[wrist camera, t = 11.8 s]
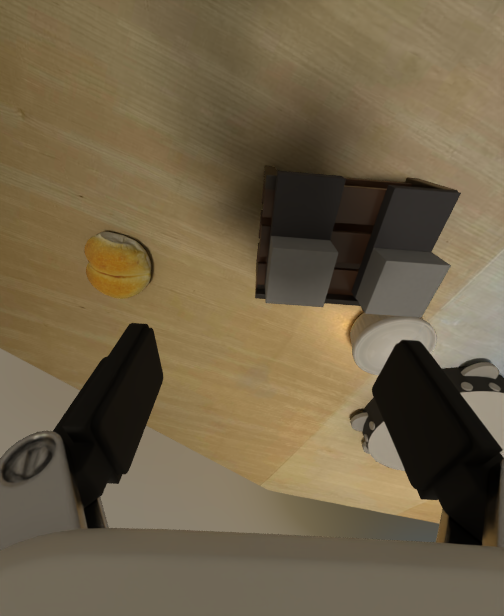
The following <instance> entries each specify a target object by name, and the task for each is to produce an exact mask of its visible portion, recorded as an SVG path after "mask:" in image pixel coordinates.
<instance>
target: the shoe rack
mask: <svg viewBox="0 0 504 616" xmlns="http://www.w3.org/2000/svg"><path fill="white" fill-rule="evenodd" d="M276 178H277V169H276V167H272V166H265V169H264V184H263V195H262V204H263V210H261V218H260V230H259V238H260V243H258V253H257V262H256V292H255V298H260V299H266V298H265V276H266V267H267V258H268V249H269V240H270V231H271V222H272V213H273V204H274V195H275V187H276ZM388 185H396V186H409V187H421V188H433V189H445V190H453V191H456V192H458V191H457V190H455V189H451V188H448V187H444V186H441V185H438V184H434V183H431V182H427V181H424V180H421V179H417V178H407V179H406V182H405V183H403V182H391V181H379V180H367V179H354V178H346V181H345V185H344V189H343V192H342V196H341V200H340V204H339V208H338V212H337V216H336V220H335V224H334V228H333V232H332V236H331V240H330V241H331V242H332V244H333V245H334V247H335V248H336V250H337V251H338V256H337V260H336V264H335V267H334V271H333V274H332V278H331V281H330V285H329V288H328V292H327V295H326V299H325V303H329V304H343V305H357V306H360V304H359V302H358V300H357V299H355V298H354V296H353V294H352V292H351V291H352V288H353V285H354V283H355V280H356V277H357V274H358V271H359V268H360V265H361V262H362V259H363V257H364V254H365V251H366V248H367V245H368V242H369V239H370V236H371V233H372V230H373V228H374V225H375V222H376V219H377V216H378V213H379V210H380V207H381V204H382V202H383V199H384V196H385V193H386V190H387V187H388Z"/></svg>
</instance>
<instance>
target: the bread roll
mask: <svg viewBox="0 0 504 616" xmlns="http://www.w3.org/2000/svg"><path fill="white" fill-rule="evenodd" d="M85 254H86V257H87V259H88V261H89V263H88V265H87V268H86V274H87V277H88V279H89V281H90V282H91V284H92V285H93V286H94V287H95V288H96V289H97V290H99V291H100V292H102V293H104V294H106V295H108V296H111V297H114V298H120V299H123V298H129V297H132V296H135V295H137V294H139V293H140V292H141V291H143V290H144V289H145V288H146V287H147V285H148V283H149V281H150V279H151V273H150V272H151V262H150V259H149V256H148V254H147V252H146V251H145V249H144V248H143V247H142V246H141V245H140V244H139V243H138V242H137V241H135V240H133V239H130V238H128V237H126V236H123V235H120V234H116V233H111V232H101V233H100V234H98V235H96V236H93V237H91V238H90V239H89V240H88V241H87V243H86V245H85Z"/></svg>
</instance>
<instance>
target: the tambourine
mask: <svg viewBox="0 0 504 616" xmlns="http://www.w3.org/2000/svg"><path fill="white" fill-rule="evenodd" d="M442 370H443V371H444V373H445V374H446V375H447V377H448V378H449V379H450V380H451V382H452V383H453V384H454V386H455V387H456V388H457V390H458V391H459V392H460V394H461V395H462V396H463V398H464V399H465V400H466V402H467V403H468V404H469V406H470V407H471V408H472V410H473V411H474V412H475V413H476V415H477V416H478V417H479V419H480V420H481V421H482V423H483V424H484V425H485V427H486V428H487V429H488V431H489V432H490V433H491V435H492V436H493V437H494V439H495V440H496V441H497V443H498V444H499V445H500V446H501V448H502V449H503V450H502V451H501V452H500V454H502V453H504V378H503V377H502V376H500V375H499V370H498V369H497V368H496V367H495V366H494V365H493V364H491V363H487V362H482V363H476V364H473V365H471V366H469V367H467V368H447V369H442ZM350 422H351V426H352V428H353V429H355V430H357V431H362V433H363V435H364V438H365V442H364V443H363V445H362V447H363V450H364V452H366V453H368V454H371V456H372V457H373V458H374V459H375V460H376V461H377V462H379V463H380V464H382V465H384V466H387V467H390V468H393V469H397V470H402V471H405V469H404V467H403V465H402V462H401V460H400V458H399V455H398V453H397V450H396V448H395V446H394V443H393V441H392V439H391V436H390V434H389V432H388V429H387V427H386V425H385V422H384V420H383V418H382V415H381V413H380V411H379V408H378V406H377V403H376V401H375V399H374V398H373V399H372V400H371V401H370V402H369V403H368V404H367V406H366V407H365V409H364V410H363V413H360V414H357V415H355V416H354V417H353V418H352V419H351V421H350Z"/></svg>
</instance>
